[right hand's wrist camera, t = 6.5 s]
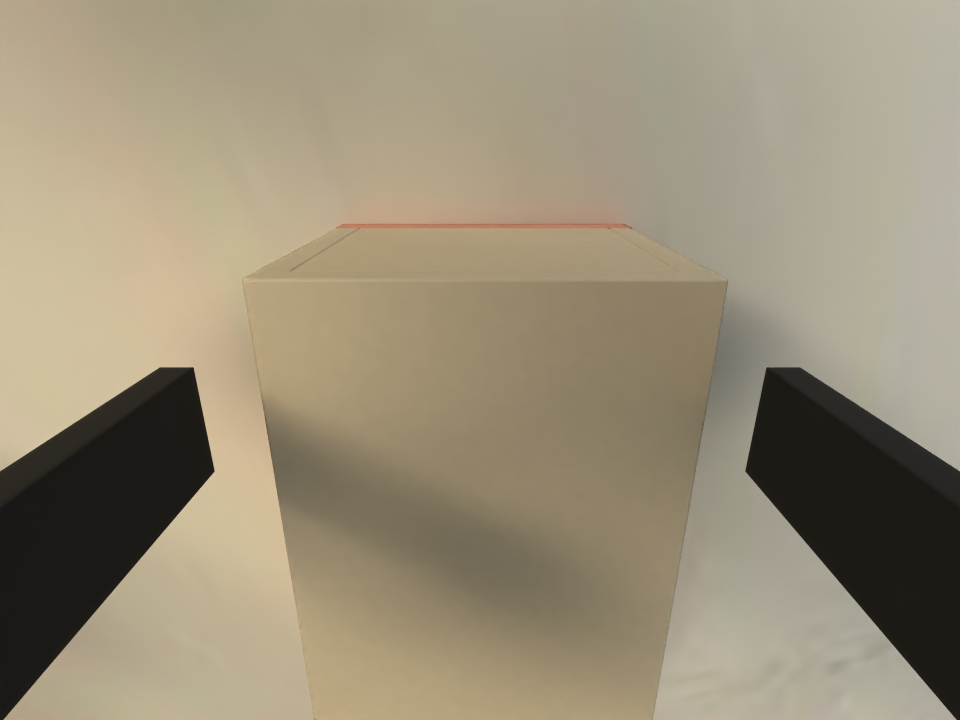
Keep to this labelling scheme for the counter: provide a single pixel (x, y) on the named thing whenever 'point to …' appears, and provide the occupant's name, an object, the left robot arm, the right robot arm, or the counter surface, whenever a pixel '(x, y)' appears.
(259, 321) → the cabinet
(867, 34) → the counter surface
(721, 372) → the counter surface
